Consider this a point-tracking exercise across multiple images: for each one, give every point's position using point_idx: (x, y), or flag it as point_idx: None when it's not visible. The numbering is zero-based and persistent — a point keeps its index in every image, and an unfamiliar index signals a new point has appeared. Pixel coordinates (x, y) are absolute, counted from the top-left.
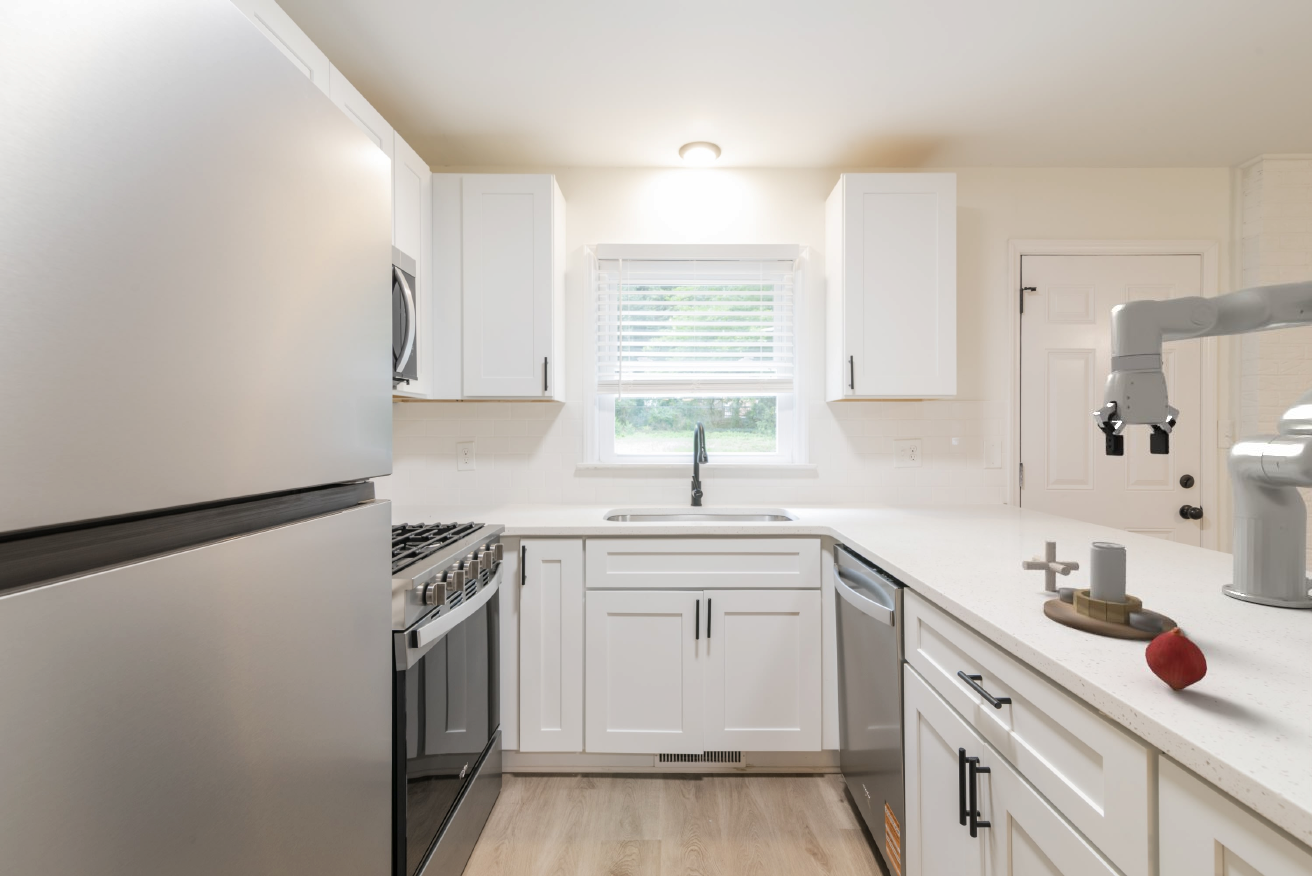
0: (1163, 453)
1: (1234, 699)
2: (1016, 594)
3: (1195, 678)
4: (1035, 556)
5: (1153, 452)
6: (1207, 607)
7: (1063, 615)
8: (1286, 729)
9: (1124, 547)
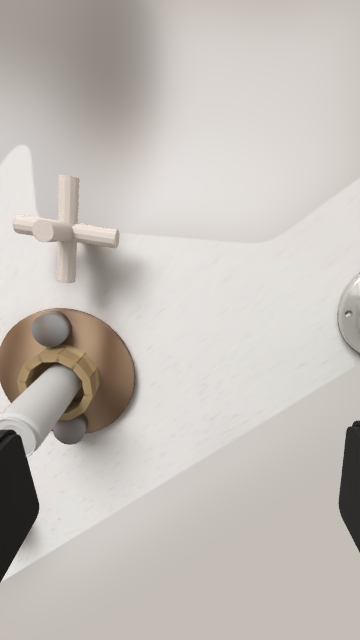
0: (339, 502)
1: (40, 524)
2: (14, 252)
3: None
4: (60, 179)
5: (346, 448)
6: (251, 336)
7: (6, 377)
8: (36, 553)
9: (28, 455)
